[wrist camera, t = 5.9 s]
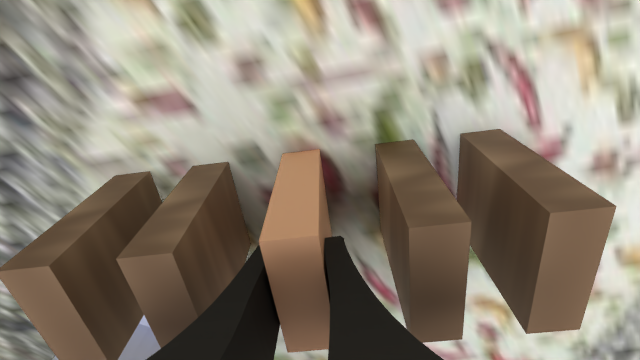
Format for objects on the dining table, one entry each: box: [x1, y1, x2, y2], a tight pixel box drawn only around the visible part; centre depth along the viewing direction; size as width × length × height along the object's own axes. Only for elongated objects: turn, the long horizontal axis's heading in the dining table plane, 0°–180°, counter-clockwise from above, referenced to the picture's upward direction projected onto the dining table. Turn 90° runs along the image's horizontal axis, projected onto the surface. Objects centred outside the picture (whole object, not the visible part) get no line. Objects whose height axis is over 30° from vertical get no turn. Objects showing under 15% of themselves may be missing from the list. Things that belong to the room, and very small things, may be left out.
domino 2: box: [116, 162, 251, 348], centre depth 15 cm, size 2×5×7 cm, turn 8°
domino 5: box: [457, 129, 616, 334], centre depth 14 cm, size 2×5×7 cm, turn 8°
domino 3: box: [259, 149, 332, 352], centre depth 14 cm, size 2×5×7 cm, turn 7°
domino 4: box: [375, 140, 472, 343], centre depth 14 cm, size 2×5×7 cm, turn 8°
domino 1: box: [0, 171, 162, 360], centre depth 15 cm, size 2×5×7 cm, turn 8°
